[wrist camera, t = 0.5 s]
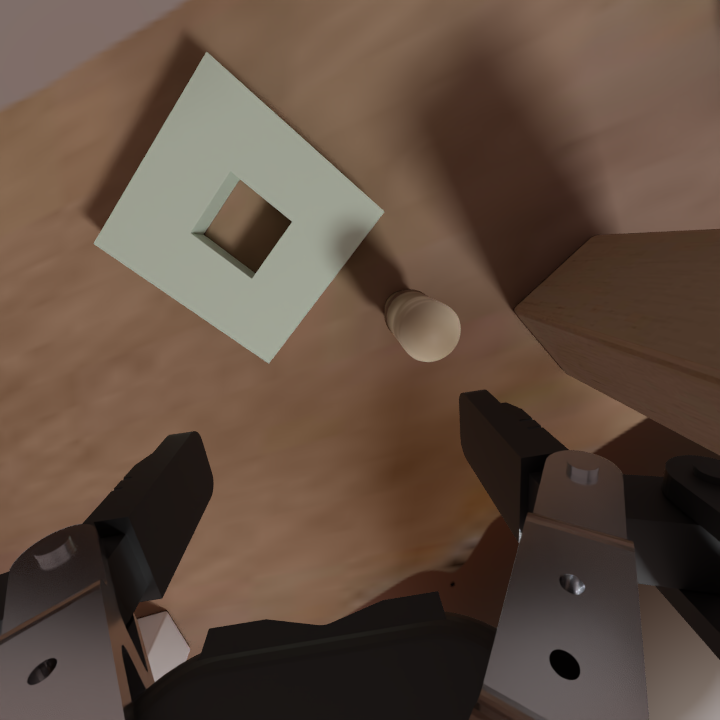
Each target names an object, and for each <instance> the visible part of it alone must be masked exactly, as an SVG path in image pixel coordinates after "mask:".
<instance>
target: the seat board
mask: <svg viewBox="0 0 720 720" xmlns="http://www.w3.org/2000/svg"><path fill="white" fill-rule="evenodd" d="M240 179H241V180H242V181H243V182H244V183H245V184H247V185H248V186H249V187H250V188H252V189H253V190H254V191H255V192H256V193H258V194H259V195H260V196H261V197H262V198H264V199H265V200H266V201H267V202H269V203H270V204H271V205H272V206H273V207H275V208H276V209H277V210H278V211H280V212H281V213H282V214H283V215H284V216H286V217H287V218H288V219H289V220H291V221H292V223H291V224H290V226H289V227H288V229H287V230H286V231H285V233H284V234H283V236H282V237H281V238H280V240H279V241H278V243H277V244H276V245H275V247H274V248H273V250H272V251H271V253H270V254H269V255H268V257H267V258H266V260H265V261H264V262H263V264H262V265H261V267H260V268H259V270H258V271H257V272H256V274H255V273H254V272H253V271H251V270H250V269H249V268H247V267H246V266H245V265H244V264H242V263H241V262H240V261H238V260H237V259H236V258H234V257H233V256H232V255H230V254H229V253H228V252H226V251H225V250H224V249H222V248H221V247H220V246H218V245H217V244H216V243H214V242H213V241H212V240H210V239H209V238H208V237H206V236H205V235H204V233H205V232H206V230H207V229H208V227H209V225H210V224H211V222H212V221H213V219H214V218H215V216H216V215H217V213H218V212H219V210H220V209H221V207H222V206H223V204H224V203H225V201H226V200H227V198H228V196H229V195H230V193H231V192H232V190H233V189H234V187H235V186H236V184H237V183H238V181H239V180H240ZM383 213H384V211H383V210H382V209H381V208H380V207H379V206H378V205H377V204H375V203H374V202H373V201H372V200H371V199H370V198H369V197H368V196H367V195H365V194H364V193H363V192H362V191H361V190H360V189H359V188H358V187H356V186H355V185H354V184H353V183H352V182H351V181H350V180H349V179H348V178H346V177H345V176H344V175H343V174H342V173H341V172H340V171H339V170H338V169H336V168H335V167H334V166H333V165H332V164H331V163H330V162H329V161H328V160H326V159H325V158H324V157H323V156H322V155H321V154H320V153H319V152H318V151H316V150H315V149H314V148H313V147H312V146H311V145H310V144H309V143H308V142H306V141H305V140H304V139H303V138H302V137H301V136H300V135H299V134H298V133H296V132H295V131H294V130H293V129H292V128H291V127H290V126H289V125H288V124H286V123H285V122H284V121H283V120H282V119H281V118H280V117H279V116H278V115H276V114H275V113H274V112H273V111H272V110H271V109H270V108H269V107H268V106H266V105H265V104H264V103H263V102H262V101H261V100H260V99H259V98H258V97H256V96H255V95H254V94H253V93H252V92H251V91H250V90H249V89H248V88H246V87H245V86H244V85H243V84H242V83H241V82H240V81H239V80H238V79H236V78H235V77H234V76H233V75H232V74H231V73H230V72H229V71H228V70H226V69H225V68H224V67H223V66H222V65H221V64H220V63H219V62H218V61H216V60H215V59H214V58H213V57H212V56H211V55H210V54H209V53H208V52H206V53H205V55H204V57H203V59H202V60H201V62H200V64H199V65H198V67H197V69H196V70H195V72H194V74H193V76H192V77H191V79H190V81H189V82H188V84H187V86H186V87H185V89H184V91H183V93H182V94H181V96H180V98H179V99H178V101H177V103H176V104H175V106H174V108H173V110H172V111H171V113H170V115H169V116H168V118H167V120H166V121H165V123H164V125H163V127H162V128H161V130H160V132H159V133H158V135H157V137H156V138H155V140H154V142H153V144H152V145H151V147H150V149H149V150H148V152H147V154H146V155H145V157H144V159H143V161H142V162H141V164H140V166H139V167H138V169H137V171H136V172H135V174H134V176H133V178H132V179H131V181H130V183H129V184H128V186H127V188H126V189H125V191H124V193H123V195H122V196H121V198H120V200H119V201H118V203H117V205H116V206H115V208H114V210H113V212H112V213H111V215H110V217H109V218H108V220H107V222H106V223H105V225H104V227H103V229H102V230H101V232H100V234H99V235H98V237H97V239H96V240H95V242H94V244H95V245H96V246H98V247H99V248H100V249H102V250H103V251H105V252H106V253H108V254H109V255H111V256H112V257H114V258H115V259H117V260H118V261H119V262H121V263H122V264H124V265H125V266H127V267H128V268H130V269H131V270H133V271H134V272H136V273H137V274H138V275H140V276H141V277H143V278H144V279H146V280H147V281H149V282H150V283H152V284H153V285H155V286H156V287H158V288H159V289H160V290H162V291H163V292H165V293H166V294H168V295H169V296H171V297H172V298H174V299H175V300H177V301H178V302H179V303H181V304H182V305H184V306H185V307H187V308H188V309H190V310H191V311H193V312H194V313H196V314H197V315H198V316H200V317H201V318H203V319H204V320H206V321H207V322H209V323H210V324H212V325H213V326H215V327H216V328H217V329H219V330H220V331H222V332H223V333H225V334H226V335H228V336H229V337H231V338H232V339H234V340H235V341H236V342H238V343H239V344H241V345H242V346H244V347H245V348H247V349H248V350H250V351H251V352H253V353H254V354H255V355H257V356H258V357H260V358H261V359H263V360H264V361H266V362H267V363H270V361H271V360H272V359H273V357H274V356H275V355H276V353H277V352H278V351H279V350H280V348H281V347H282V346H283V344H284V343H285V342H286V340H287V339H288V338H289V336H290V335H291V334H292V332H293V331H294V330H295V329H296V327H297V326H298V325H299V323H300V322H301V321H302V319H303V318H304V317H305V315H306V314H307V313H308V311H309V310H310V309H311V308H312V306H313V305H314V304H315V302H316V301H317V300H318V298H319V297H320V296H321V294H322V293H323V292H324V290H325V289H326V288H327V287H328V285H329V284H330V283H331V281H332V280H333V279H334V277H335V276H336V275H337V273H338V272H339V271H340V269H341V268H342V267H343V265H344V264H345V263H346V262H347V260H348V259H349V258H350V256H351V255H352V254H353V252H354V251H355V250H356V248H357V247H358V246H359V244H360V243H361V242H362V241H363V239H364V238H365V237H366V235H367V234H368V233H369V231H370V230H371V229H372V227H373V226H374V225H375V223H376V222H377V221H378V220H379V218H380V217H381V216H382V214H383Z"/></svg>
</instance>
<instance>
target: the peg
mask: <svg viewBox="0 0 720 720" xmlns="http://www.w3.org/2000/svg"><path fill="white" fill-rule="evenodd" d="M384 316H385V322H386V325H387V327H388V329H389V330H390V331H391V332H392V333H393V334H394V336H395V337H396V338H397V340H398V341H399V343H400V344H401V345H402V347H403V348H404V349H405V351H406V352H407V353H408V354H409V355H410V356H411V357H413V358H415V359H417V360H419V361H424V362H432V361H437V360H440V359H442V358H444V357H445V356H447V355H448V354H449V353H451V352H452V350H453V349H454V348H455V346H456V345H457V343H458V341H459V337H460V332H461V327H460V321H459V319H458V317H457V315H456V313H455V312H454V311H453V310H452V309H451V308H450V307H449V306H447V305H445V304H443V303H441V302H439V301H437V300H435V299H433V298H431V297H429V296H427V295H425V294H424V293H422V292H420V291H417V290H411V289H409V290H403V291H398V292H395V293H394V294H392V295H391V296H390V297H389V298H388V299H387V301H386V304H385V314H384Z"/></svg>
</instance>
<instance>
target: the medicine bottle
mask: <svg viewBox="0 0 720 720" xmlns="http://www.w3.org/2000/svg"><path fill="white" fill-rule="evenodd" d="M137 620H138V623H139V627H140V630H141V634H142V638H143V641H144V645H145V649H146V652H147V656H148V660H149V663H150V667H151V670H152V674H153V678H154V681H155V682H156V681H157V680H158V679H160V678H161V677H162V676H163V675H165V674H166V673H168V672H169V671H171V670H172V669H174V668H175V667H177V666H178V665H180V664H181V663H183V662H185V661H186V660H187V657H188V654H189V651H190V648H189V646H188V644H187V643H186V641H185V639H184V638H183V636H182V635H181V633H180V631H179V630H178V628H177V626H176V625H175V623H174V622H173V620H172V618H171V617H170V615H169V613H168V612H167V611H165V612H161V613H157V614H154V615H150V616H146V617H143V618H139V619H137Z"/></svg>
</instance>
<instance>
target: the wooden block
mask: <svg viewBox="0 0 720 720" xmlns="http://www.w3.org/2000/svg"><path fill="white" fill-rule="evenodd" d="M514 310H515V313H516V314H517V316H518V317H519V318H520V319H521V320H522V322H523V323H524V324H525V325H526V326H527V328H528V329H529V330H530V331H531V332H532V333H533V335H534V336H535V337H536V338H537V339H538V341H539V342H540V343H541V344H542V345H543V346H544V348H545V349H546V350H547V351H548V352H549V354H550V355H551V356H552V357H553V358H554V360H555V361H556V362H557V363H558V364H559V365H560V367H561V368H562V369H563V370H564V371H565V373H566V374H568V375H570V376H572V377H574V378H575V379H577V380H579V381H581V382H583V383H585V384H587V385H589V386H591V387H592V388H594V389H596V390H598V391H600V392H602V393H604V394H606V395H607V396H609V397H611V398H613V399H615V400H617V401H619V402H621V403H623V404H624V405H626V406H628V407H630V408H632V409H634V410H636V411H638V412H639V413H641V414H643V415H645V416H647V417H649V418H651V419H653V420H654V421H656V422H658V423H660V424H662V425H664V426H666V427H668V428H670V429H671V430H673V431H675V432H677V433H679V434H681V435H683V436H685V437H687V438H688V439H690V440H692V441H694V442H696V443H698V444H700V445H702V446H704V447H705V448H707V449H709V450H711V451H713V452H715V453H717V454H718V455H720V229H710V230H689V231H669V232H648V233H628V234H608V235H595V236H593V237H591V238H590V239H589V240H588V241H587V242H586V243H585V244H584V245H583V246H581V247H580V248H579V249H578V250H577V251H576V252H575V253H574V254H573V255H572V256H571V257H569V258H568V259H567V260H566V261H565V262H564V263H563V264H562V265H561V266H560V267H559V268H558V269H556V270H555V271H554V272H553V273H552V274H551V275H550V276H549V277H548V278H547V279H546V280H544V281H543V282H542V283H541V284H540V285H539V286H538V287H537V288H536V289H535V290H534V291H532V292H531V293H530V294H529V295H528V296H527V297H526V298H525V299H524V300H523V301H522V302H521V303H519V304H518V305H517V306H516V307H515V309H514Z"/></svg>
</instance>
